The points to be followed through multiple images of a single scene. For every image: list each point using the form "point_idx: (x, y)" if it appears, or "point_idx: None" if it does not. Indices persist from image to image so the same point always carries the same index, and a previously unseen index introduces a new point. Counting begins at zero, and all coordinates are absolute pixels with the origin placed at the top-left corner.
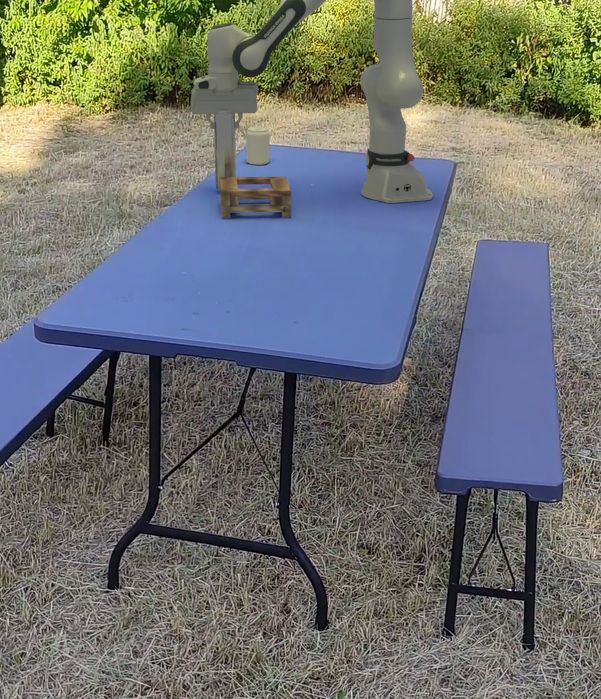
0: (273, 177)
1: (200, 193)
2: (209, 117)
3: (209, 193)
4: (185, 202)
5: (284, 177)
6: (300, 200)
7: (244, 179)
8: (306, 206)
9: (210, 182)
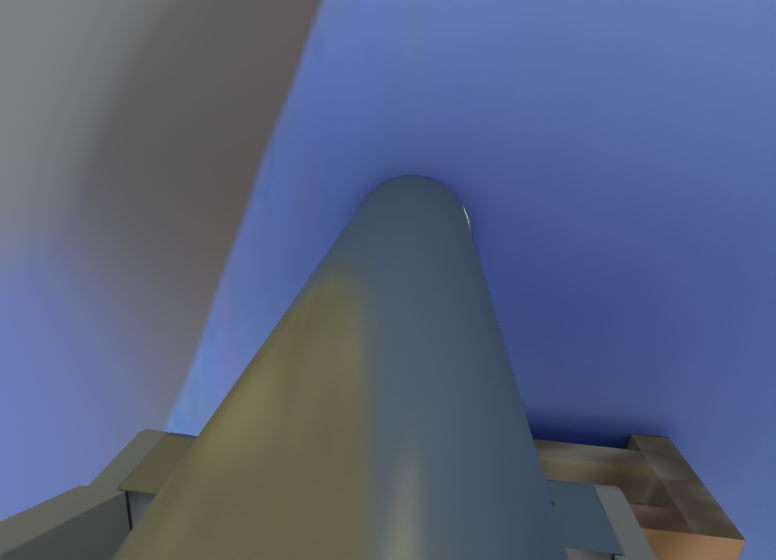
0: (661, 544)
1: (275, 242)
2: (14, 551)
3: (321, 249)
4: (207, 371)
5: (728, 555)
6: (754, 422)
7: None
8: (741, 502)
9: (340, 16)
